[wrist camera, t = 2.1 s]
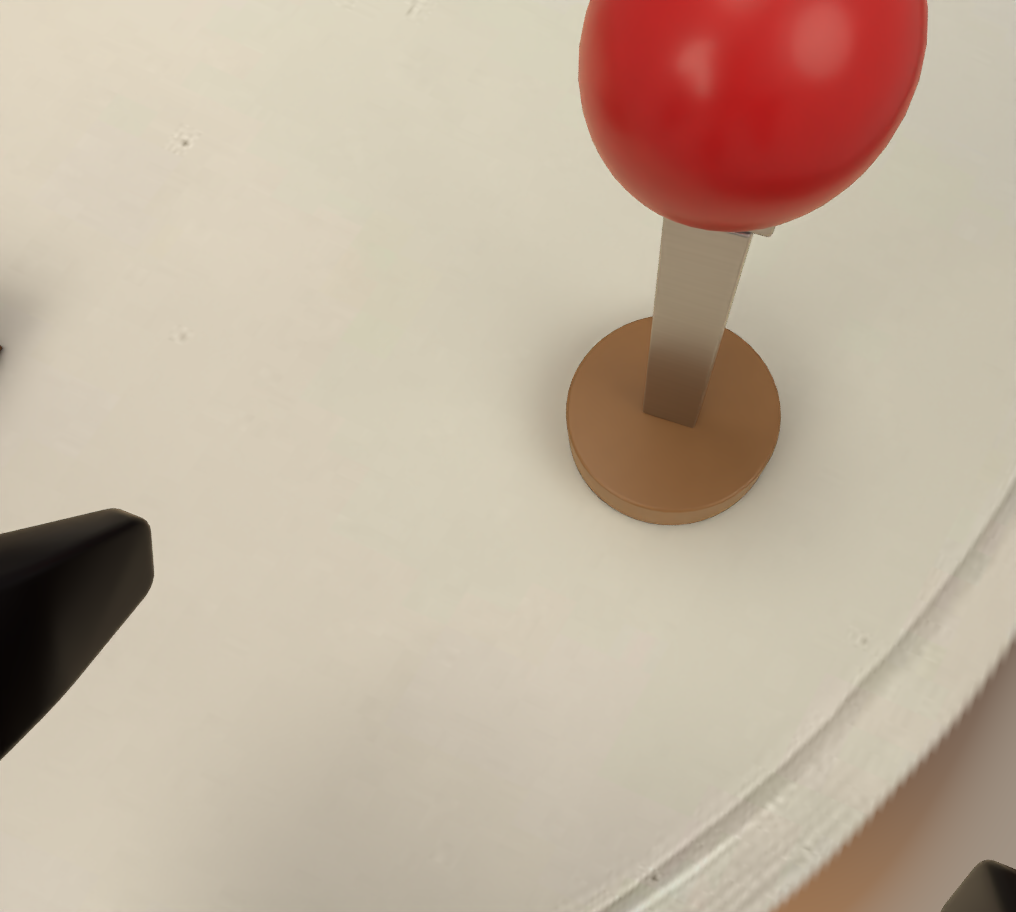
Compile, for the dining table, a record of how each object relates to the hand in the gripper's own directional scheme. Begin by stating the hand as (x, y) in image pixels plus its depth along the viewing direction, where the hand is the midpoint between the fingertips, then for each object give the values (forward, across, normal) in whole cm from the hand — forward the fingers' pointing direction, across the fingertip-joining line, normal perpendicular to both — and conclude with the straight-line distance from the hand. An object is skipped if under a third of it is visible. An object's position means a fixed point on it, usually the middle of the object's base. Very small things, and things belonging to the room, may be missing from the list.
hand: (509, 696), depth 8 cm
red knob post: (+15, 0, +4) cm, 15 cm away
